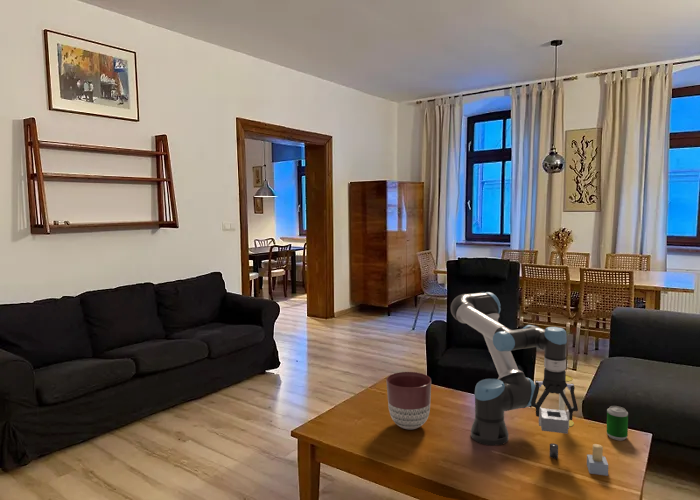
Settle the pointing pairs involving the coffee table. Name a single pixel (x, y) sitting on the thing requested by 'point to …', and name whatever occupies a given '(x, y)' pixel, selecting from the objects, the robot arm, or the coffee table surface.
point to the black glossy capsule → (553, 450)
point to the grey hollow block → (554, 420)
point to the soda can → (617, 423)
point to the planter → (409, 398)
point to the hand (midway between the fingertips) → (553, 425)
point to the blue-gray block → (597, 461)
